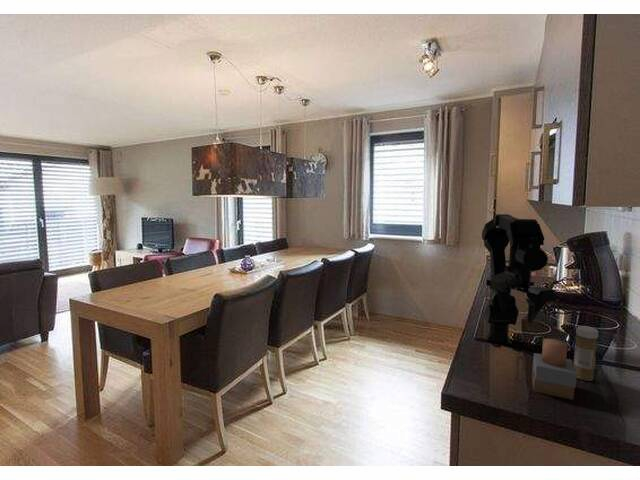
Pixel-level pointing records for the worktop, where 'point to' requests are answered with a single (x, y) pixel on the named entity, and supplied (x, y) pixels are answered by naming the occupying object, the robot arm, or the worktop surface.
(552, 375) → the grey top block
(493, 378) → the worktop surface
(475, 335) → the worktop surface
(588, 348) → the sprinkles bottle
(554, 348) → the orange clay cylinder
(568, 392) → the beige square block
